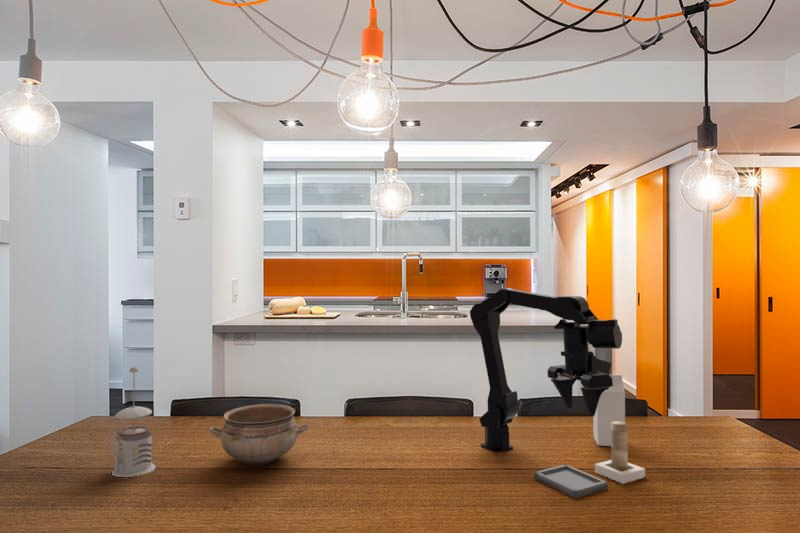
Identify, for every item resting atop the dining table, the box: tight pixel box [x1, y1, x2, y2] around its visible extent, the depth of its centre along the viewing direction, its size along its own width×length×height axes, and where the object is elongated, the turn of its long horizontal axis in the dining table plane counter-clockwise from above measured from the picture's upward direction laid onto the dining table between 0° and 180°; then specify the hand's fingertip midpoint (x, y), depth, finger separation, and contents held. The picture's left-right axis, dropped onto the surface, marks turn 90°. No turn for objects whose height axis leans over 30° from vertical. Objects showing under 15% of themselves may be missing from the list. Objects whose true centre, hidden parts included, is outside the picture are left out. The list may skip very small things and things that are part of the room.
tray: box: [534, 463, 609, 499], centre depth 116 cm, size 12×10×2 cm
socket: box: [594, 459, 646, 485], centre depth 121 cm, size 8×8×2 cm
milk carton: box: [592, 374, 626, 447], centre depth 144 cm, size 7×7×19 cm
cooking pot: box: [208, 403, 311, 467], centre depth 131 cm, size 25×19×12 cm
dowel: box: [610, 422, 629, 472], centre depth 121 cm, size 4×4×12 cm
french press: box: [106, 366, 157, 478], centre depth 124 cm, size 10×12×25 cm
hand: (580, 411), depth 126 cm, fingers open, 9 cm apart
